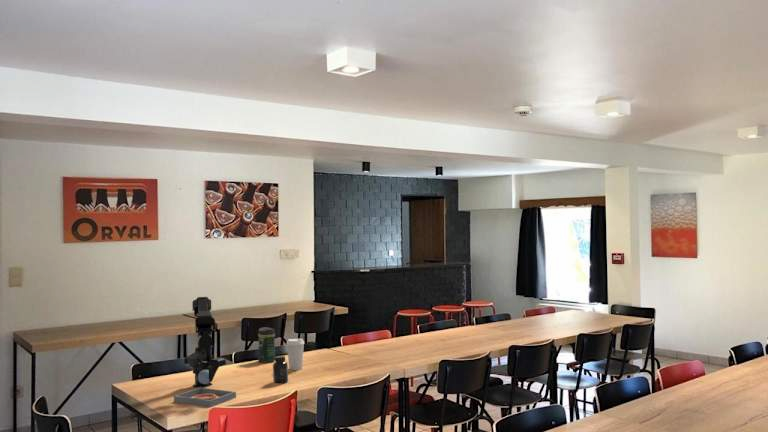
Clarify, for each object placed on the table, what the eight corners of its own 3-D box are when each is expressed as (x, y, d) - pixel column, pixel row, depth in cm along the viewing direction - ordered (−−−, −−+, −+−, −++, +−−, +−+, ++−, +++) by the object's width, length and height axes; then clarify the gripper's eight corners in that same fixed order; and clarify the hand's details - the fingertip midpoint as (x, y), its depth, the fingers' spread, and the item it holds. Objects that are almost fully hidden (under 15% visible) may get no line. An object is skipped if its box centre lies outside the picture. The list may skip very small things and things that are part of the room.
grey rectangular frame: (173, 401, 272) (173, 396, 272) (200, 393, 286) (200, 387, 286) (210, 407, 263) (210, 400, 263) (236, 397, 277) (235, 391, 277)
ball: (194, 384, 273) (194, 370, 273) (204, 381, 279) (204, 367, 279) (205, 386, 271) (205, 371, 271) (215, 383, 276) (215, 369, 276)
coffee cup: (301, 371, 327) (301, 341, 328) (283, 370, 329) (283, 341, 330) (307, 367, 337) (307, 338, 337) (290, 366, 339) (289, 338, 339)
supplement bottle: (288, 380, 308) (288, 355, 308) (287, 383, 301) (286, 357, 301) (274, 380, 308) (274, 355, 308) (272, 384, 301) (272, 358, 301)
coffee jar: (277, 361, 352) (277, 327, 353) (264, 363, 347) (264, 329, 348) (269, 359, 360) (268, 325, 360) (256, 360, 355) (255, 327, 355)
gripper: (174, 346, 272) (174, 383, 272) (208, 349, 264) (208, 387, 263) (193, 341, 282) (193, 377, 282) (226, 344, 274) (226, 381, 273)
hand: (205, 381), depth 275 cm, fingers closed on ball, 6 cm apart
